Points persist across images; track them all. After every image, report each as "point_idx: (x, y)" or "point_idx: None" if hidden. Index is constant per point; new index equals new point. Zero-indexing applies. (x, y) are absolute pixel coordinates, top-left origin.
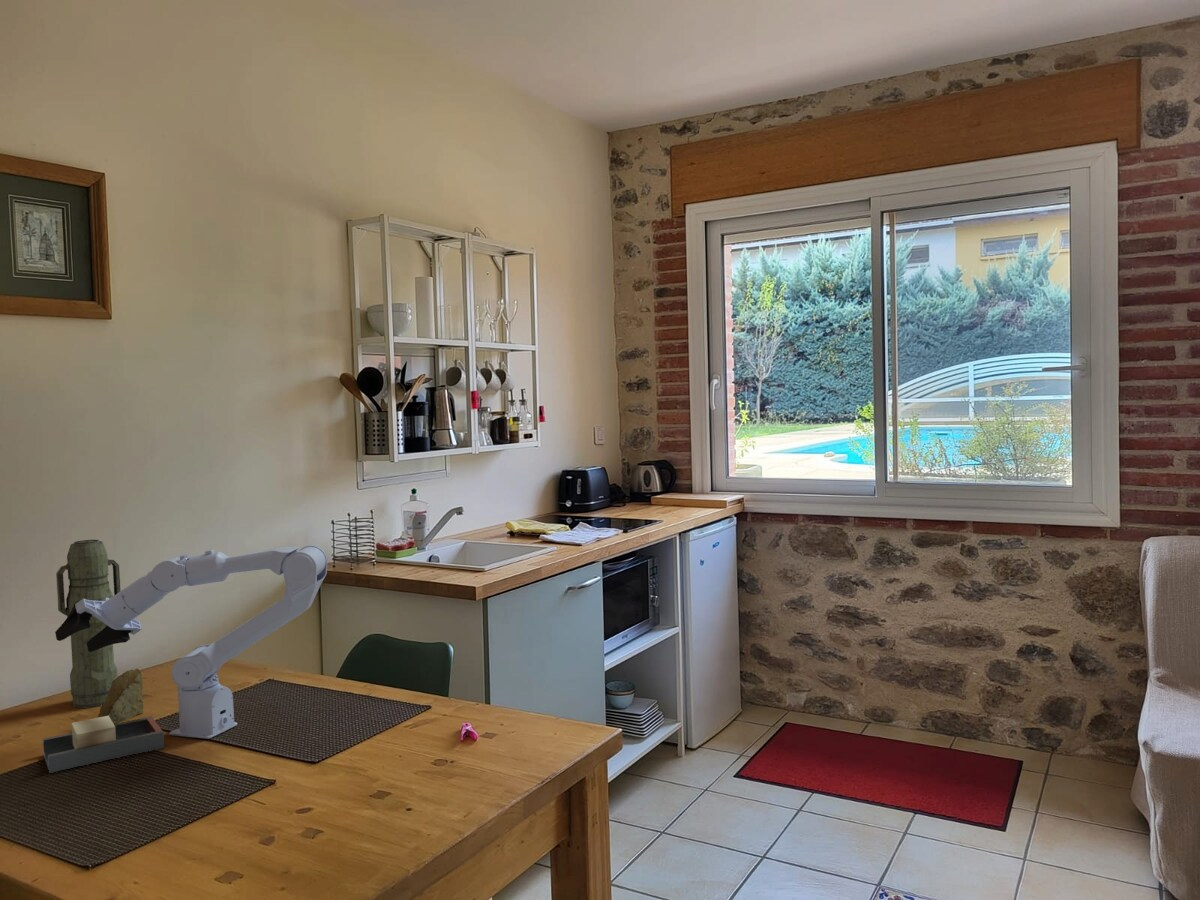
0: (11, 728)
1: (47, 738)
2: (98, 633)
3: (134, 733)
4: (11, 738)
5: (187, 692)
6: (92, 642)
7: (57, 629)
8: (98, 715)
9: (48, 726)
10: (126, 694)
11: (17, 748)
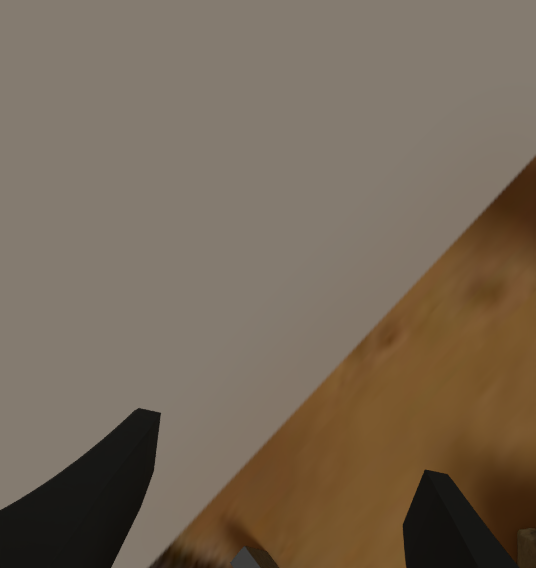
0: (436, 266)
1: (246, 562)
2: (465, 553)
3: None
4: (370, 336)
5: None
6: (425, 530)
7: (124, 420)
8: (526, 540)
9: (478, 350)
10: None
11: (308, 421)
